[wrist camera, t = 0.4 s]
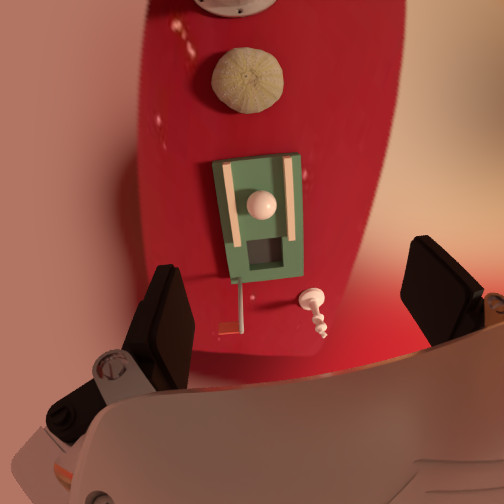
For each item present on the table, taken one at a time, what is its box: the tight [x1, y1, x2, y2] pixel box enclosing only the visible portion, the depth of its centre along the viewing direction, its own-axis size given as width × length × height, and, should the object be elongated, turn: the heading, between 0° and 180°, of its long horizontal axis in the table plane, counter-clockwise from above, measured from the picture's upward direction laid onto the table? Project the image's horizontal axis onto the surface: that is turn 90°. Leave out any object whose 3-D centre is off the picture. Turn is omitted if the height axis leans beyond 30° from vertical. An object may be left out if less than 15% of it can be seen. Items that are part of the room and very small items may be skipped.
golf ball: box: [247, 190, 277, 220], centre depth 38 cm, size 4×4×4 cm
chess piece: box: [299, 288, 327, 338], centre depth 48 cm, size 5×5×10 cm
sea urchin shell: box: [211, 47, 284, 114], centre depth 31 cm, size 9×8×8 cm
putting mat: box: [212, 152, 303, 335], centre depth 37 cm, size 20×14×14 cm
